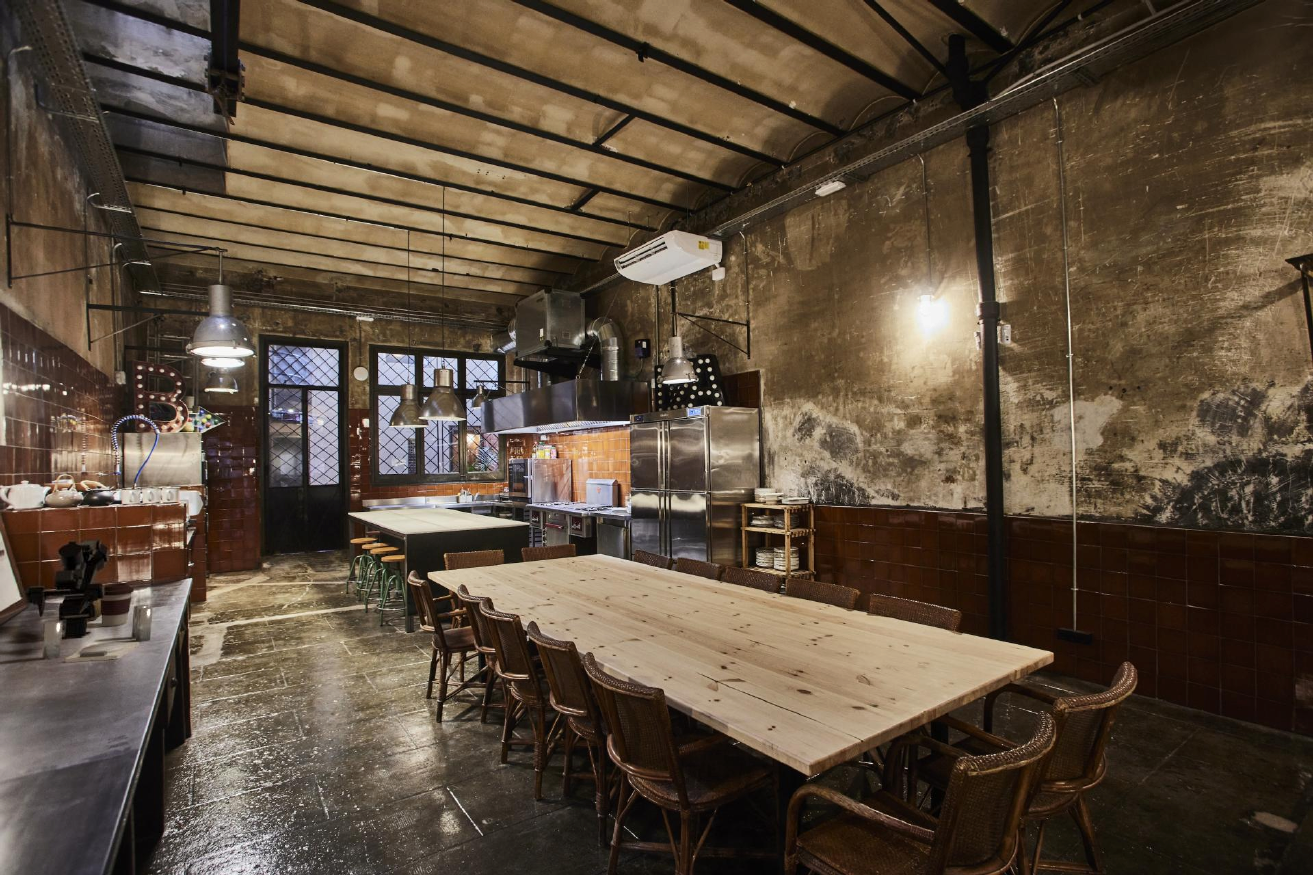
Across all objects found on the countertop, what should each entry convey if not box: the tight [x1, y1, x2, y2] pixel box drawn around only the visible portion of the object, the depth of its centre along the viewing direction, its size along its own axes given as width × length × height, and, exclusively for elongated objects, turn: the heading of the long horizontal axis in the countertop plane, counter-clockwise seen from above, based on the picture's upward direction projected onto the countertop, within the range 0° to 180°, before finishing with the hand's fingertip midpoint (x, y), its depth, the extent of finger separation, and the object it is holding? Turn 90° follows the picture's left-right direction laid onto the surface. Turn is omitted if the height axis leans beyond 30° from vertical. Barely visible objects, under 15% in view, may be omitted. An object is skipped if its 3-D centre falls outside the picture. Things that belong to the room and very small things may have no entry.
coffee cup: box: [101, 583, 135, 627], centre depth 237 cm, size 10×10×15 cm
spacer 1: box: [42, 620, 64, 660], centre depth 196 cm, size 4×4×11 cm
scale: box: [64, 641, 141, 663], centre depth 201 cm, size 16×13×2 cm
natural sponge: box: [87, 599, 102, 621], centre depth 241 cm, size 9×9×10 cm
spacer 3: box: [135, 606, 153, 643], centre depth 217 cm, size 4×4×11 cm
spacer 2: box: [131, 604, 149, 640], centre depth 220 cm, size 4×4×11 cm
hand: (59, 614), depth 201 cm, fingers open, 9 cm apart
